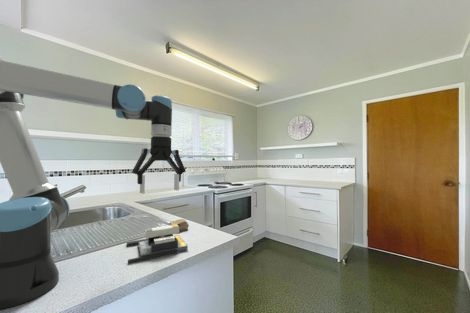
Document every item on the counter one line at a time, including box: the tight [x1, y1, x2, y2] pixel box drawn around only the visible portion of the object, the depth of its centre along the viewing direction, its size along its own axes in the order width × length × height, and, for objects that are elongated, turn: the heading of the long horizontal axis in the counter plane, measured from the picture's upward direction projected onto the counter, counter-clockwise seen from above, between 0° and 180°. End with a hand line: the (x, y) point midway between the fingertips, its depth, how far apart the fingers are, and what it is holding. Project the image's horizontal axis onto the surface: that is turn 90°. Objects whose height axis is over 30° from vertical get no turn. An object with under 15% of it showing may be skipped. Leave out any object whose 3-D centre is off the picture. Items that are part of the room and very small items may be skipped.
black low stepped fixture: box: [126, 238, 178, 265], centre depth 82 cm, size 18×18×1 cm
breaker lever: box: [144, 224, 180, 239], centre depth 82 cm, size 12×3×3 cm, turn 118°
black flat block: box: [137, 234, 189, 257], centre depth 82 cm, size 16×13×5 cm
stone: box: [168, 218, 190, 232], centre depth 105 cm, size 8×10×4 cm
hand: (160, 191), depth 83 cm, fingers open, 13 cm apart
